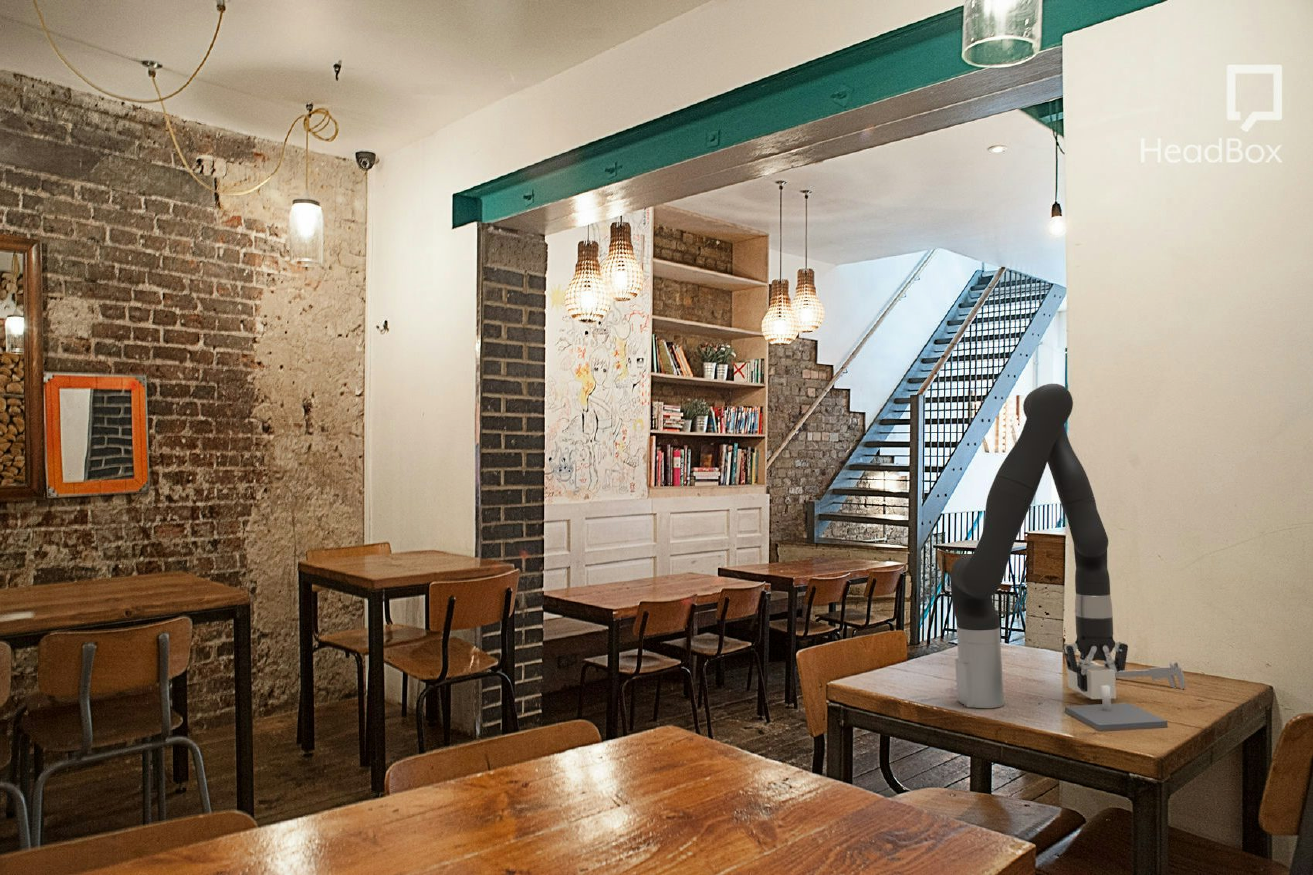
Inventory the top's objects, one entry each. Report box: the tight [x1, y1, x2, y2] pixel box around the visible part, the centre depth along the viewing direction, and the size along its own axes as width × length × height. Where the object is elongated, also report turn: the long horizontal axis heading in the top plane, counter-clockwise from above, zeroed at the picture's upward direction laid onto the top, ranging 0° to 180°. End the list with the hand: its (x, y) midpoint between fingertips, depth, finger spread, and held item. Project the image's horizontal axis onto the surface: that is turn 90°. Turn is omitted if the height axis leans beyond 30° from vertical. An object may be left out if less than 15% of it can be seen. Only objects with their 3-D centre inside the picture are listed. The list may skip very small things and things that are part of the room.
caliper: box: [1116, 661, 1186, 690], centre depth 216 cm, size 20×1×6 cm, turn 39°
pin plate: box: [1064, 685, 1168, 732], centre depth 188 cm, size 14×14×6 cm
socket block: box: [1066, 659, 1117, 700], centre depth 204 cm, size 5×11×6 cm, turn 2°
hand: (1097, 690), depth 202 cm, fingers closed on socket block, 5 cm apart
